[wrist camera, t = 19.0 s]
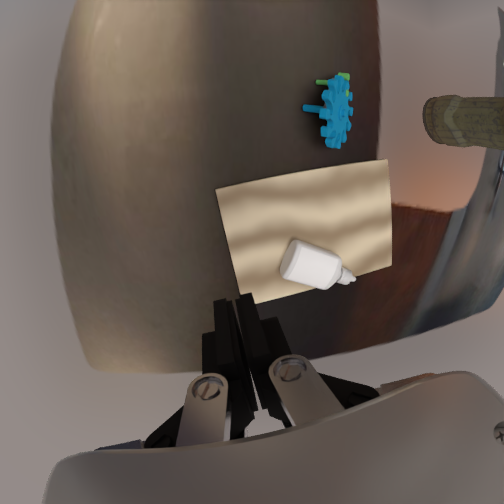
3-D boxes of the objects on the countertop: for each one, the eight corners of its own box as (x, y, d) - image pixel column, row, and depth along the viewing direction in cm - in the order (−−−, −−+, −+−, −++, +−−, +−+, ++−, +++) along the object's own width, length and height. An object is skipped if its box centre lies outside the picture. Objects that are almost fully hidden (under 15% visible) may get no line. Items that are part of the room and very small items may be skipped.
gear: (346, 160, 36) (323, 132, 27) (308, 152, 39) (277, 125, 30) (362, 94, 34) (344, 55, 25) (326, 90, 37) (300, 53, 28)
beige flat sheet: (215, 189, 36) (215, 189, 35) (384, 158, 38) (387, 159, 37) (243, 303, 43) (243, 306, 42) (389, 263, 45) (391, 265, 44)
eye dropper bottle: (289, 278, 36) (359, 297, 39) (298, 236, 37) (366, 261, 40) (276, 278, 40) (342, 296, 43) (285, 240, 41) (349, 262, 44)
